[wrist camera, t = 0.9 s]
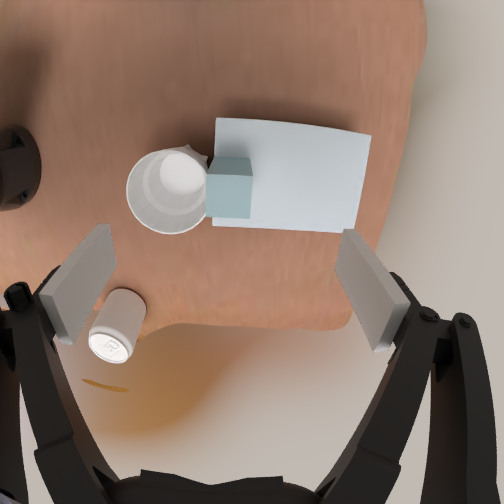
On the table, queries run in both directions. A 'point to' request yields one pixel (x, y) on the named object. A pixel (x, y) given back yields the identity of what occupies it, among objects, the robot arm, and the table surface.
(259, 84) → the table surface
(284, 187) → the pale blue stand
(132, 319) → the beverage can
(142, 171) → the cup
